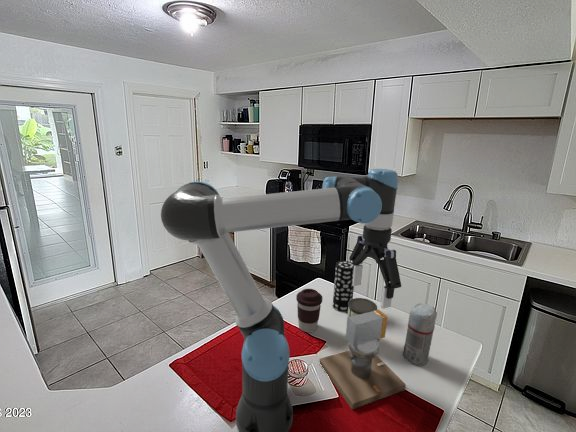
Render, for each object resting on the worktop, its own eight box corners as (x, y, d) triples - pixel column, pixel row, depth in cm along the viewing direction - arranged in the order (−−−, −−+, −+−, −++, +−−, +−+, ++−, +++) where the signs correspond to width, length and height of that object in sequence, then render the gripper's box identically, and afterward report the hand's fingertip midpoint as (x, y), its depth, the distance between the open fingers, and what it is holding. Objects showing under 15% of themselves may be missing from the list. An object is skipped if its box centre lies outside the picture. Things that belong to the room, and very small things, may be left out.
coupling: (357, 362, 91) (360, 329, 88) (340, 343, 99) (343, 312, 96) (388, 353, 96) (393, 321, 93) (370, 335, 104) (373, 305, 101)
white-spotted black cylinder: (328, 305, 140) (332, 264, 134) (340, 299, 145) (344, 259, 140) (343, 314, 134) (347, 270, 128) (355, 307, 139) (359, 265, 134)
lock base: (352, 409, 88) (355, 379, 85) (319, 363, 105) (321, 337, 102) (404, 389, 95) (409, 362, 93) (366, 350, 112) (369, 325, 110)
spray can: (433, 366, 105) (443, 314, 100) (409, 367, 105) (417, 314, 99) (421, 349, 113) (429, 300, 108) (398, 350, 113) (406, 300, 107)
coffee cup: (313, 338, 118) (316, 302, 114) (290, 329, 122) (292, 294, 118) (324, 324, 126) (326, 290, 122) (302, 316, 131) (304, 284, 127)
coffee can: (372, 332, 122) (376, 299, 119) (373, 349, 113) (378, 314, 109) (345, 328, 124) (348, 296, 121) (344, 344, 115) (348, 310, 111)
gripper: (423, 239, 77) (411, 315, 83) (361, 213, 99) (356, 275, 105) (399, 242, 74) (388, 321, 80) (341, 215, 96) (336, 278, 102)
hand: (370, 295), depth 93 cm, fingers open, 13 cm apart
